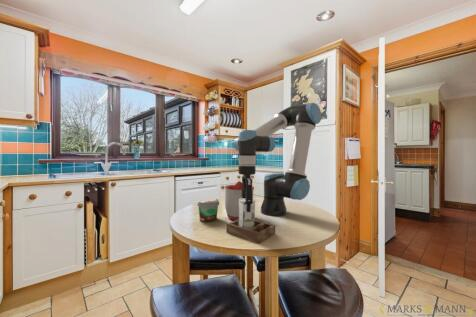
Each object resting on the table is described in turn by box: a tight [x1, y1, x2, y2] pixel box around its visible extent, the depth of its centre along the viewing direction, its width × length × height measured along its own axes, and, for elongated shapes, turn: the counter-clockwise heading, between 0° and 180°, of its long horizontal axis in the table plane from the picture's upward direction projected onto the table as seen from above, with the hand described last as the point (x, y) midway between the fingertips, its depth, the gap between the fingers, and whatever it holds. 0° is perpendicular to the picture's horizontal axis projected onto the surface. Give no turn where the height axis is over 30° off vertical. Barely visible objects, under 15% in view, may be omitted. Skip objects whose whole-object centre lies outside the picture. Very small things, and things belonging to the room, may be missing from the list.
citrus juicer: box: [224, 180, 254, 221], centre depth 119 cm, size 16×17×20 cm
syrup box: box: [238, 198, 256, 229], centre depth 98 cm, size 6×6×14 cm
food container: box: [197, 198, 220, 223], centre depth 113 cm, size 12×6×10 cm, turn 131°
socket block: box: [226, 220, 276, 245], centre depth 96 cm, size 12×18×4 cm
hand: (246, 215), depth 98 cm, fingers open, 9 cm apart
